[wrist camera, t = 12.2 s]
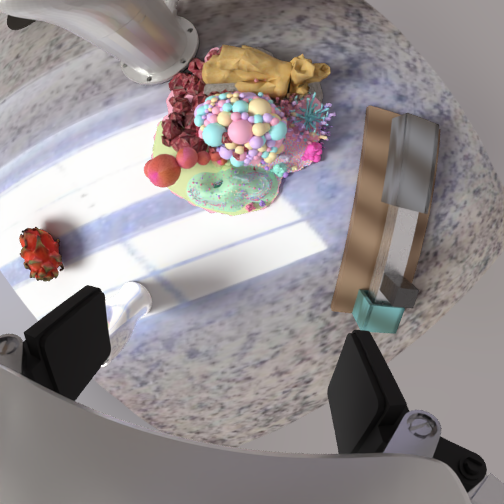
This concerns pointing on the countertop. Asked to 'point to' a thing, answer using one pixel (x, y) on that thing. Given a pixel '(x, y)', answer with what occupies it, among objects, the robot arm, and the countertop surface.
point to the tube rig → (386, 208)
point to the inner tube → (394, 261)
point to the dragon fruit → (40, 254)
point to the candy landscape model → (239, 128)
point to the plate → (18, 22)
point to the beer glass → (125, 315)
